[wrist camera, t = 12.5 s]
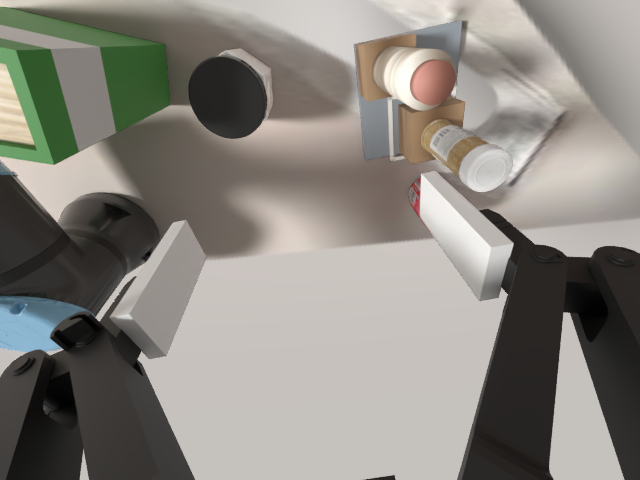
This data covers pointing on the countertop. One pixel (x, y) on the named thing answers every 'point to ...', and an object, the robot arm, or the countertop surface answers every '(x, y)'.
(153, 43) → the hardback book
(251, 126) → the jar
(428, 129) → the sprinkles bottle
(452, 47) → the build plate
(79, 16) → the countertop surface
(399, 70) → the tower
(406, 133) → the wooden block
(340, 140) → the countertop surface
